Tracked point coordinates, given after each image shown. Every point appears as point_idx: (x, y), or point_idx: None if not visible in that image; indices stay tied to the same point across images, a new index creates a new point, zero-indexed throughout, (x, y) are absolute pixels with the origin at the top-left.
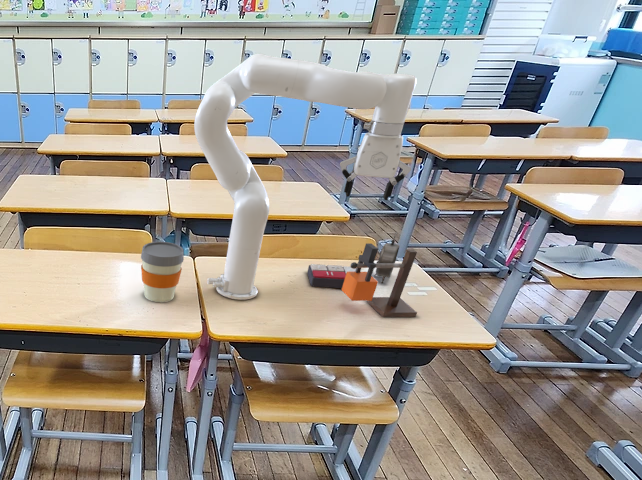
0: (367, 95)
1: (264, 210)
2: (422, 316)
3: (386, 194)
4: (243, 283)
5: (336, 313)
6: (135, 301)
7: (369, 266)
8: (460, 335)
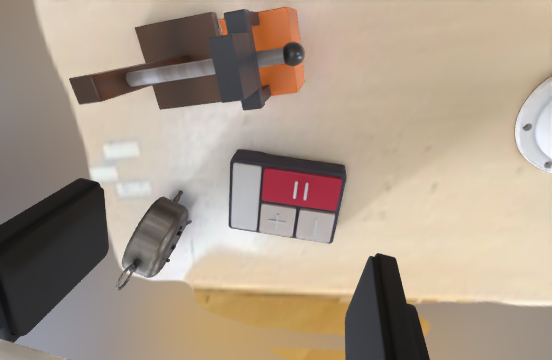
0: None
1: None
2: (126, 34)
3: (69, 204)
4: None
5: (328, 15)
6: None
7: (248, 14)
8: None
